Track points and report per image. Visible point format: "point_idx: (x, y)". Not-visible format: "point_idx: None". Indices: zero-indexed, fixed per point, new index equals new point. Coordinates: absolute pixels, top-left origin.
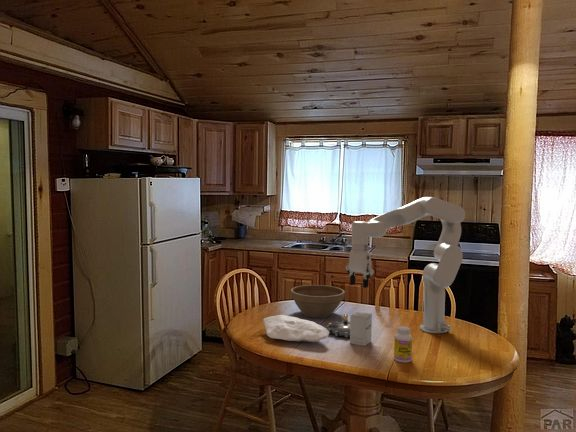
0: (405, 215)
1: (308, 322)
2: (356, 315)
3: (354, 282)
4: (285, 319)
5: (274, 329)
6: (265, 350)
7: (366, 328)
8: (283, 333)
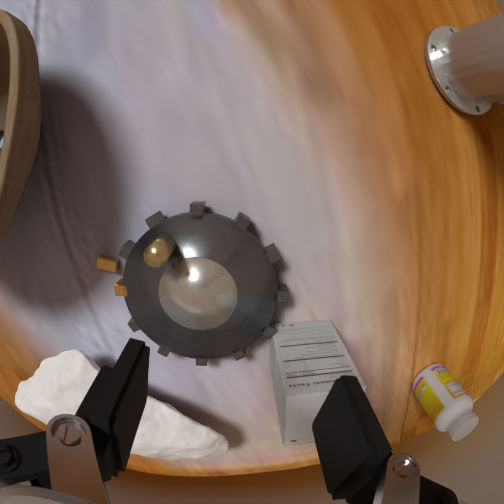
0: None
1: (144, 450)
2: (310, 441)
3: (142, 375)
4: None
5: None
6: (135, 467)
7: None
8: None
